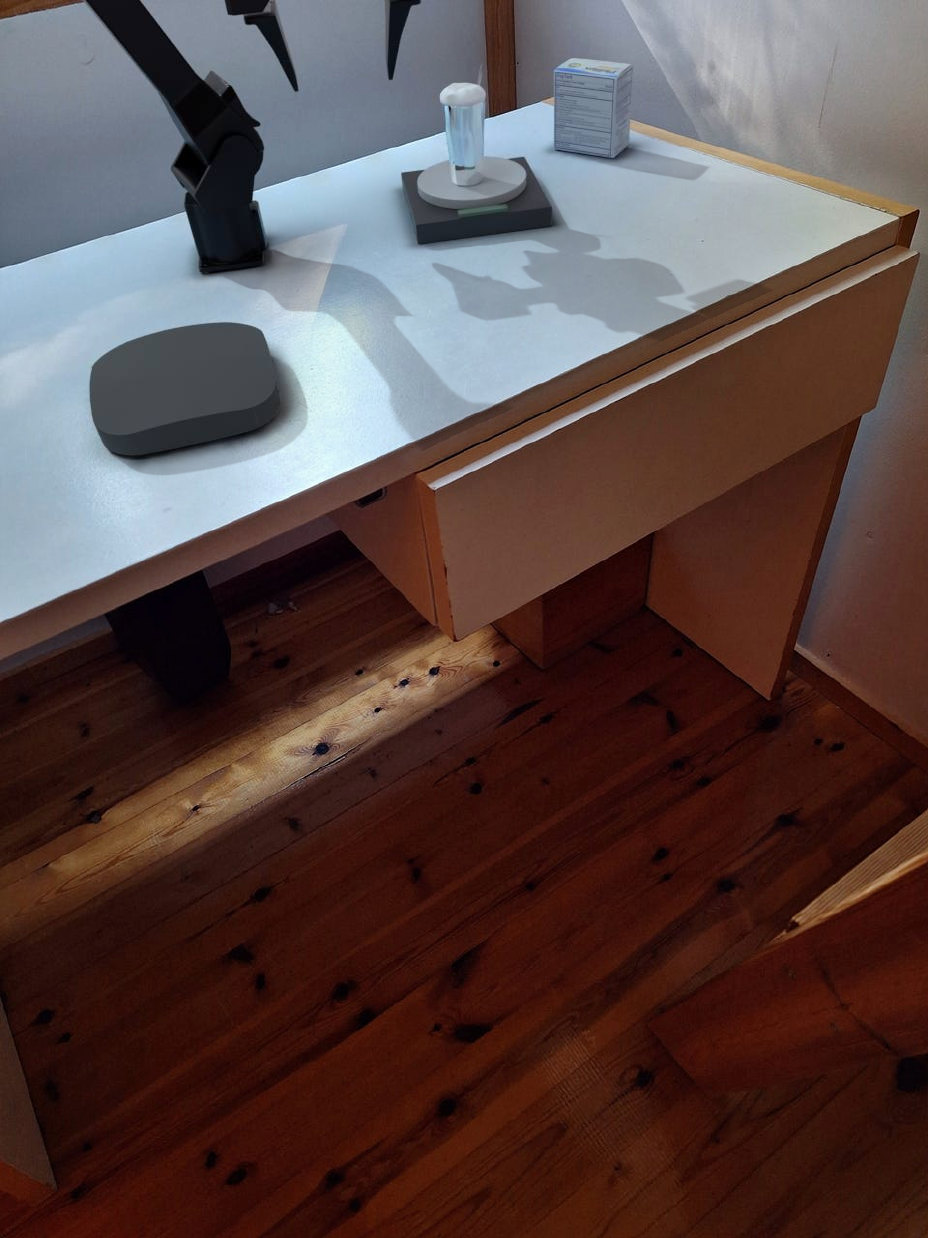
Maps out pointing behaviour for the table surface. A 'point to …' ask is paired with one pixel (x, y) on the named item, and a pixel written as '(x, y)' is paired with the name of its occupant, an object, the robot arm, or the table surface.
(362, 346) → the table surface
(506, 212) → the scale
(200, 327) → the media streaming box
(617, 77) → the medicine box
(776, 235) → the table surface
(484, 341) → the table surface
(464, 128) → the milkshake
